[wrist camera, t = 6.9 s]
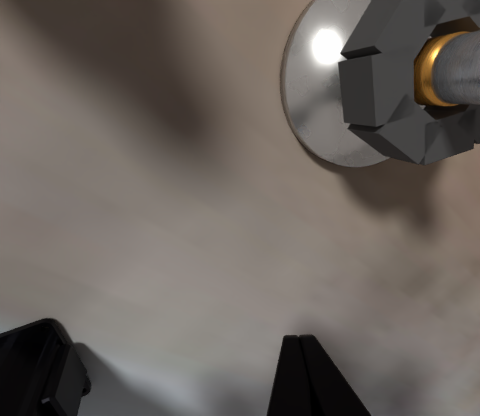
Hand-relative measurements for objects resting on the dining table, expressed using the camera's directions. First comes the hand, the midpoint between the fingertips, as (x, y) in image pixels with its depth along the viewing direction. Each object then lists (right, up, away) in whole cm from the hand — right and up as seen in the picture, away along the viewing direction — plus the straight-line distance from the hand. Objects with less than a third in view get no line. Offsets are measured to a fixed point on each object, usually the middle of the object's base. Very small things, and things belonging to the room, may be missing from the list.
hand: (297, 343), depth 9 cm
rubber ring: (+7, +11, +7) cm, 15 cm away
